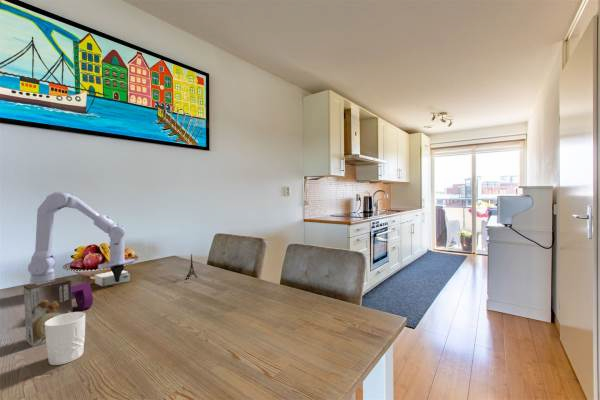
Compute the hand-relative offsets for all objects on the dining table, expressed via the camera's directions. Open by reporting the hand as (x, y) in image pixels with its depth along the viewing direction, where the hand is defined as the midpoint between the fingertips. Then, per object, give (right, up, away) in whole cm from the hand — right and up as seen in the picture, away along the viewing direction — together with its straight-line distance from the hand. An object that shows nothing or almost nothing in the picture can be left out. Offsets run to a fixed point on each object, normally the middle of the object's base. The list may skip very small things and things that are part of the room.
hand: (117, 281), depth 125 cm
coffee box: (+12, -2, -46) cm, 48 cm away
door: (-1, -1, +1) cm, 3 cm away
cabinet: (-6, -2, +5) cm, 8 cm away
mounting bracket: (-1, -2, -26) cm, 26 cm away
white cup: (+25, -2, -57) cm, 62 cm away
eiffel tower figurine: (+30, -2, +10) cm, 32 cm away
